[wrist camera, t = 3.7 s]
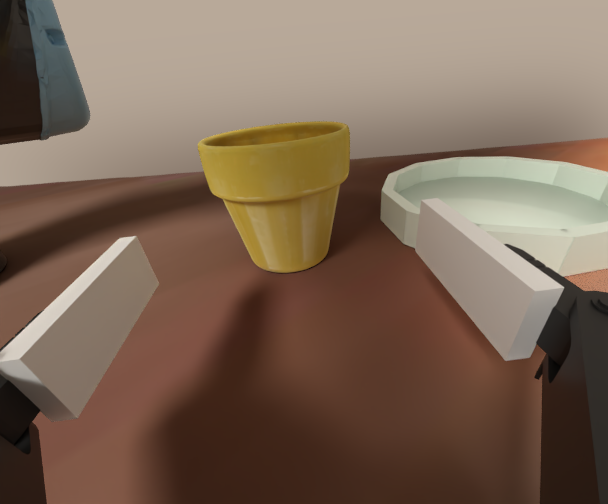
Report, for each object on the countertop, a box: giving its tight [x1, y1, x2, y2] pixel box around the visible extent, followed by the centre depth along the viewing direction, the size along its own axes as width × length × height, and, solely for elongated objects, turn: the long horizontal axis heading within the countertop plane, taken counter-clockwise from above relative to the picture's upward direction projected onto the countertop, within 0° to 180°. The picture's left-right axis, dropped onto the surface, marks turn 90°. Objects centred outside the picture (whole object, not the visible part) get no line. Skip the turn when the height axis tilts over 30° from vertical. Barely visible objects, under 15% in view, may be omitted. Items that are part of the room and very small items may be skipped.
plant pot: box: [198, 121, 350, 273], centre depth 22 cm, size 10×10×10 cm
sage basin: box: [380, 157, 608, 277], centre depth 25 cm, size 19×19×3 cm
